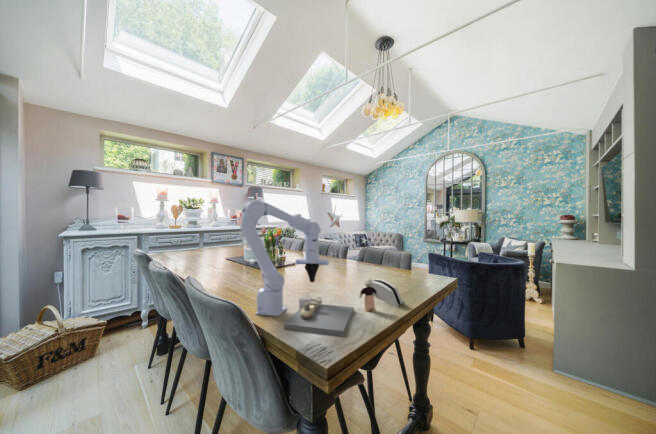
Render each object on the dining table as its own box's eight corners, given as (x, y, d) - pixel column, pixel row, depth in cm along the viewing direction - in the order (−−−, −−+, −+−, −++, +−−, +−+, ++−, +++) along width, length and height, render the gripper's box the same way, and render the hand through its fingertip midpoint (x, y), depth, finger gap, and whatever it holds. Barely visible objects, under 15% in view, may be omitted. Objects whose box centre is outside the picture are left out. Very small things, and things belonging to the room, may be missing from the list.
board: (283, 328, 75) (283, 324, 75) (305, 306, 95) (305, 303, 95) (343, 335, 70) (343, 331, 70) (354, 311, 89) (353, 307, 89)
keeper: (299, 310, 87) (299, 299, 87) (301, 308, 89) (301, 297, 89) (320, 312, 84) (320, 301, 85) (322, 310, 86) (322, 299, 86)
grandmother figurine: (374, 307, 93) (374, 275, 93) (379, 310, 89) (379, 278, 89) (357, 310, 90) (357, 277, 90) (362, 313, 87) (361, 279, 87)
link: (311, 319, 78) (311, 307, 78) (299, 318, 79) (298, 306, 79) (322, 302, 94) (322, 292, 94) (312, 302, 95) (312, 292, 95)
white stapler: (406, 304, 95) (399, 283, 94) (397, 310, 93) (390, 288, 92) (380, 293, 110) (374, 274, 109) (373, 298, 108) (366, 279, 107)
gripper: (330, 249, 100) (331, 280, 100) (299, 248, 104) (300, 278, 104) (326, 251, 94) (326, 284, 93) (293, 250, 98) (293, 282, 97)
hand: (312, 281), depth 98 cm, fingers closed
